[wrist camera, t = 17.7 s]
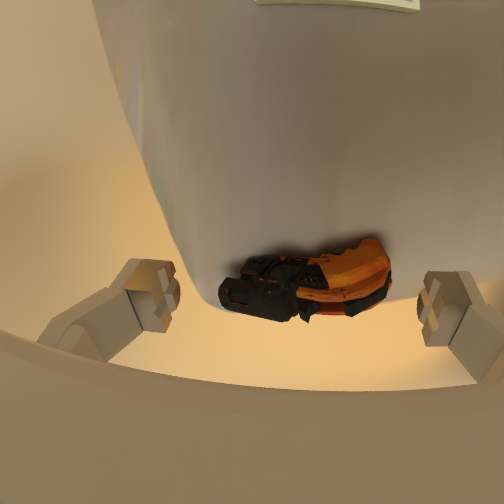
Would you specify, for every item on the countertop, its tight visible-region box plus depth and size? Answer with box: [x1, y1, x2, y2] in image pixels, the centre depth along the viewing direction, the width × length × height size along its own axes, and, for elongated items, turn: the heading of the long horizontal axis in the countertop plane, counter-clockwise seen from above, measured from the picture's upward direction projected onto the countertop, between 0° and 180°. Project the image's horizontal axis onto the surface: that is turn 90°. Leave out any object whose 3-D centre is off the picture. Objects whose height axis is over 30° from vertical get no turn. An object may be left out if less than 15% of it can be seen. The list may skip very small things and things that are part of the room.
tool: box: [218, 239, 392, 323], centre depth 44 cm, size 8×23×15 cm, turn 109°
